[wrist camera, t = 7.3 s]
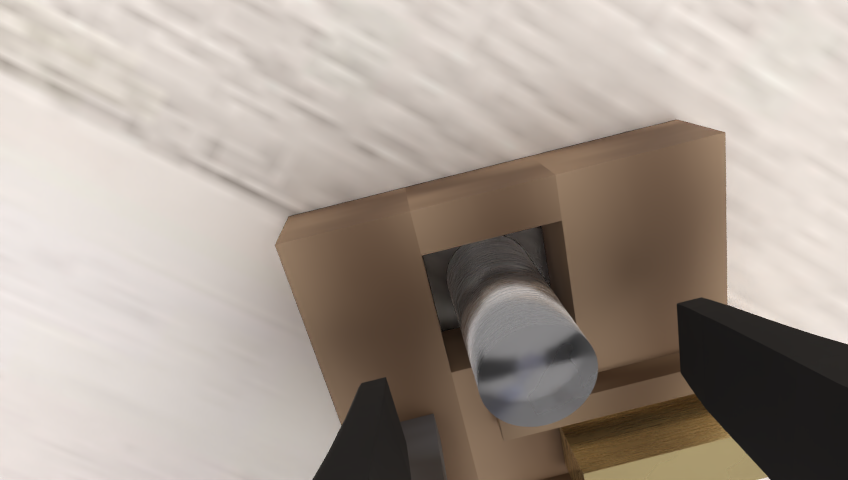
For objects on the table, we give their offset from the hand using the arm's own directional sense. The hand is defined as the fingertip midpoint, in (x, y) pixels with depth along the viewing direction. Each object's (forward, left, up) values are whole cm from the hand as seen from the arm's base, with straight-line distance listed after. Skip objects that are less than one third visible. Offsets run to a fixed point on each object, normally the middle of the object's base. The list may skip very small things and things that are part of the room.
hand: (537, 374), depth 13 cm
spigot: (0, 0, -6) cm, 6 cm away
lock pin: (+5, -6, -4) cm, 9 cm away
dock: (+1, -2, -6) cm, 7 cm away
